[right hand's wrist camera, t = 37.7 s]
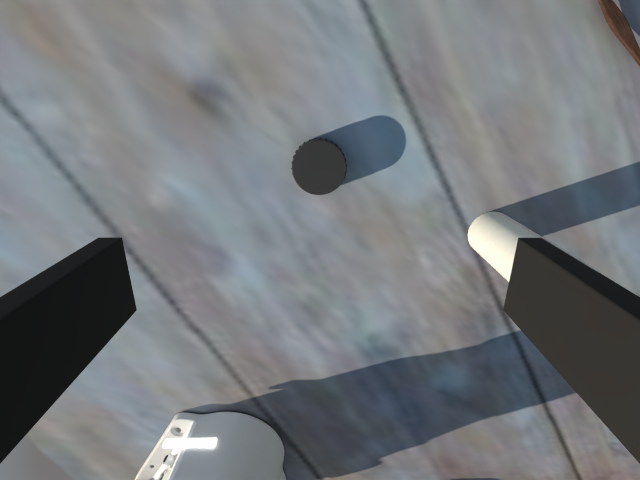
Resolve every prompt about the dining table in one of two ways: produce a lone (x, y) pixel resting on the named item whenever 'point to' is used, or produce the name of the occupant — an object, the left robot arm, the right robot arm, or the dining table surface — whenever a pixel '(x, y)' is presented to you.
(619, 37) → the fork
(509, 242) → the jar
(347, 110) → the dining table surface
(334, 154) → the lid
